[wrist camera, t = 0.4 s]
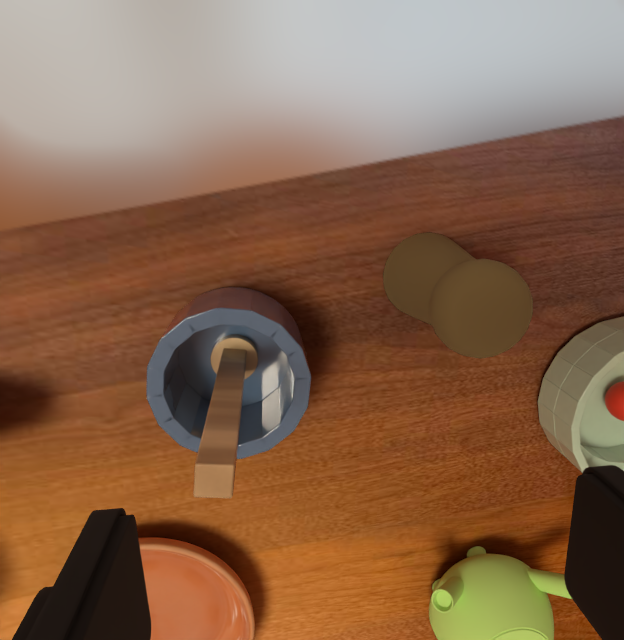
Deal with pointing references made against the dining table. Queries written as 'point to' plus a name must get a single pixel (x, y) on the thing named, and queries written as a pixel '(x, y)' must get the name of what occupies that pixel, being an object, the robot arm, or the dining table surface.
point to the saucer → (193, 593)
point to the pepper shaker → (459, 295)
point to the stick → (224, 417)
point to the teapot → (494, 599)
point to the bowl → (585, 397)
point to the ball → (615, 400)
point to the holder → (199, 377)
